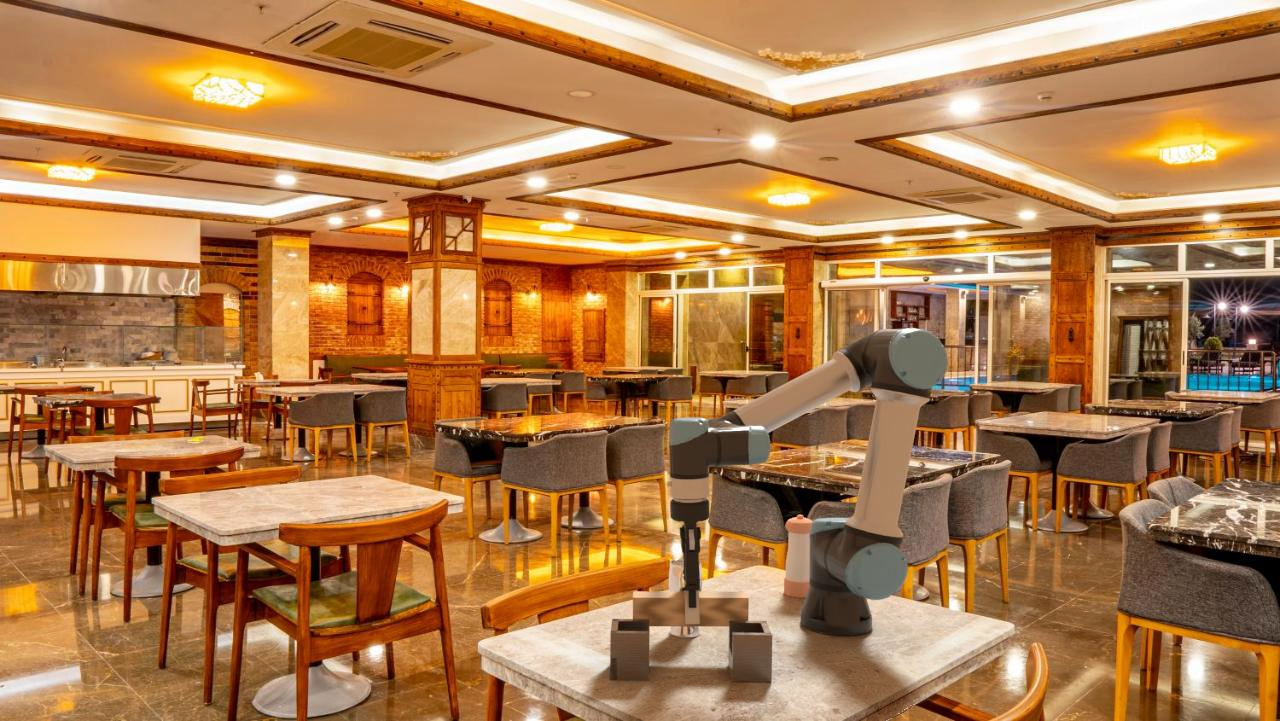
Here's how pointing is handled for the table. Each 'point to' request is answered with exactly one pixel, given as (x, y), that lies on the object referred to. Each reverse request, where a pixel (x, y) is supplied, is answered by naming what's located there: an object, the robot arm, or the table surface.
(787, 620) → the table surface
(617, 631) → the brackets
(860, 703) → the table surface
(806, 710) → the table surface
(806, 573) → the pepper shaker
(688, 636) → the shiny metal tumbler
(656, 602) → the rail
